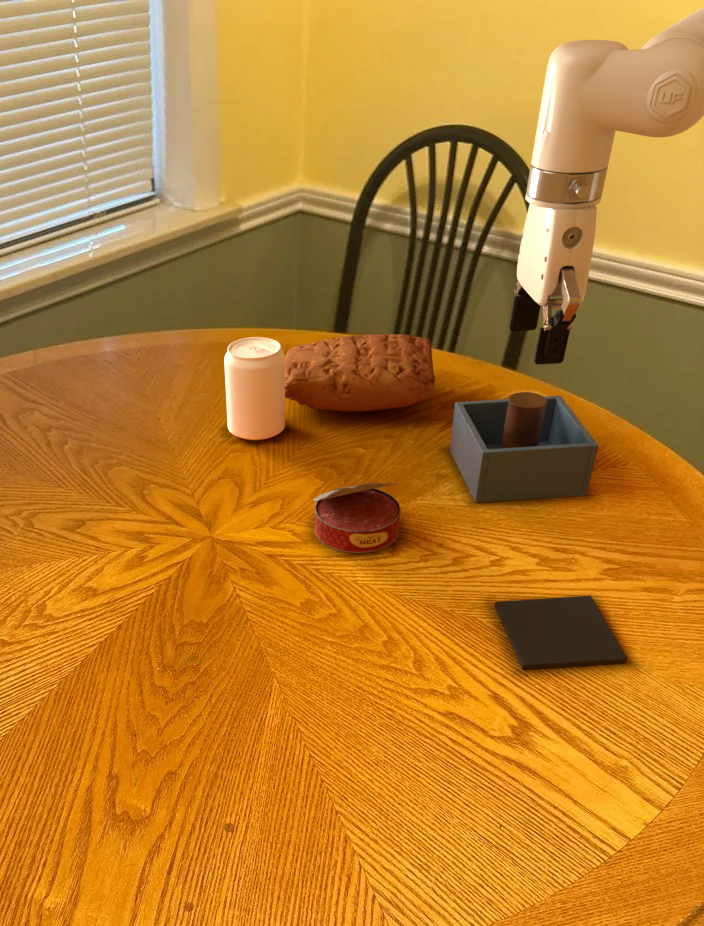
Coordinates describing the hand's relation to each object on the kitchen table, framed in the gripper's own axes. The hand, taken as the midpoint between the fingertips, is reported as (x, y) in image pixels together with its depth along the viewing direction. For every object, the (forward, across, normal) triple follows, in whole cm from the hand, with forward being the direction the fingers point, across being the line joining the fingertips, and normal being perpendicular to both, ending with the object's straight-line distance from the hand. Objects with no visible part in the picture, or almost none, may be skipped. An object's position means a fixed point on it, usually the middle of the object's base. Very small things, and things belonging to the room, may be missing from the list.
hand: (534, 345), depth 103 cm
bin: (+16, 0, 0) cm, 16 cm away
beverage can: (+17, +16, +32) cm, 39 cm away
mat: (+16, -32, +4) cm, 36 cm away
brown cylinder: (+16, 0, 0) cm, 16 cm away
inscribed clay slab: (+17, +23, +17) cm, 33 cm away
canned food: (+17, -11, +22) cm, 30 cm away
